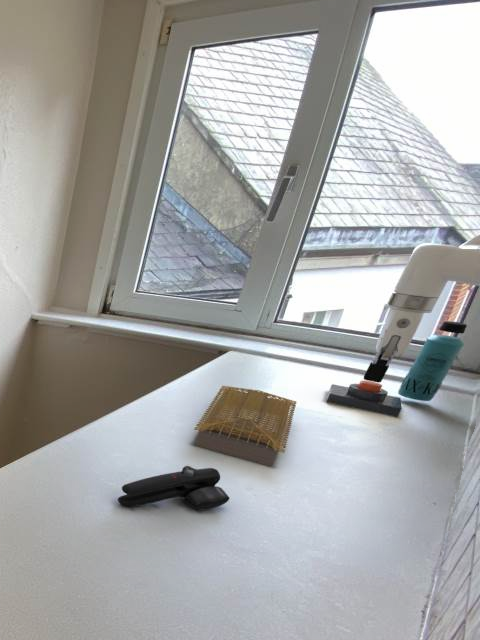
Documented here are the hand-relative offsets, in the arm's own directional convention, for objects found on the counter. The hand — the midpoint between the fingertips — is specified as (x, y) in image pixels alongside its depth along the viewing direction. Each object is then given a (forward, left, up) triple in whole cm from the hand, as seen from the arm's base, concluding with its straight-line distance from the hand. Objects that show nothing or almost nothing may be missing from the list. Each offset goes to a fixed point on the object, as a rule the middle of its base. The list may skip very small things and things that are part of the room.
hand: (371, 380), depth 130 cm
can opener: (+23, +86, -6) cm, 90 cm away
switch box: (0, 0, -6) cm, 6 cm away
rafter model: (+19, +41, -6) cm, 46 cm away
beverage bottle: (-10, -12, -6) cm, 17 cm away
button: (0, 0, -3) cm, 3 cm away
